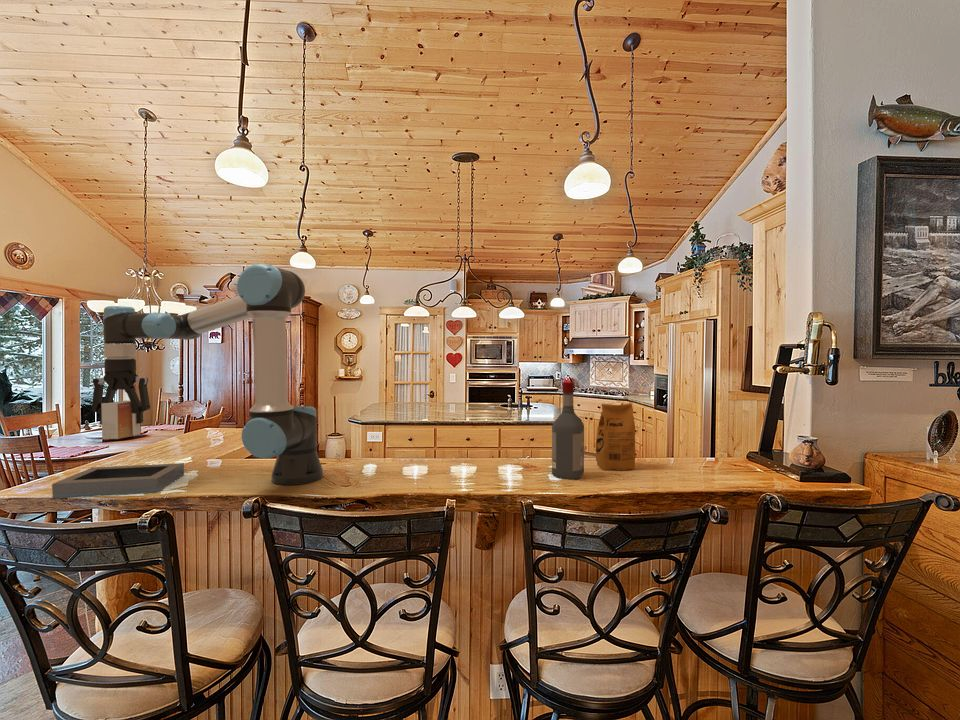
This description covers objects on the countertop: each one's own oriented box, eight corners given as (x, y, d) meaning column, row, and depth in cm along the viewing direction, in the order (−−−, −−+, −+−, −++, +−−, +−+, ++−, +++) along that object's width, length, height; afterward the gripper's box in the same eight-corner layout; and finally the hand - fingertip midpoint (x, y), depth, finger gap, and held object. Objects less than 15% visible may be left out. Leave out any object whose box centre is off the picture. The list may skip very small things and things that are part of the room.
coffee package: (593, 463, 166) (593, 401, 165) (628, 463, 166) (628, 401, 165) (600, 471, 156) (600, 405, 155) (638, 471, 156) (638, 405, 155)
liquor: (585, 473, 153) (585, 382, 152) (578, 480, 145) (579, 384, 144) (557, 470, 157) (558, 381, 156) (550, 477, 148) (550, 383, 147)
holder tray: (184, 475, 152) (183, 463, 152) (157, 492, 134) (156, 478, 134) (93, 479, 147) (92, 467, 147) (52, 498, 129) (52, 483, 129)
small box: (117, 439, 136) (117, 403, 136) (101, 439, 137) (100, 403, 136) (142, 434, 144) (141, 400, 143) (126, 434, 145) (125, 400, 144)
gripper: (163, 357, 145) (164, 431, 146) (90, 358, 141) (92, 433, 142) (151, 358, 138) (152, 436, 138) (73, 358, 134) (75, 438, 135)
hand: (122, 434), depth 140 cm, fingers closed on small box, 7 cm apart
